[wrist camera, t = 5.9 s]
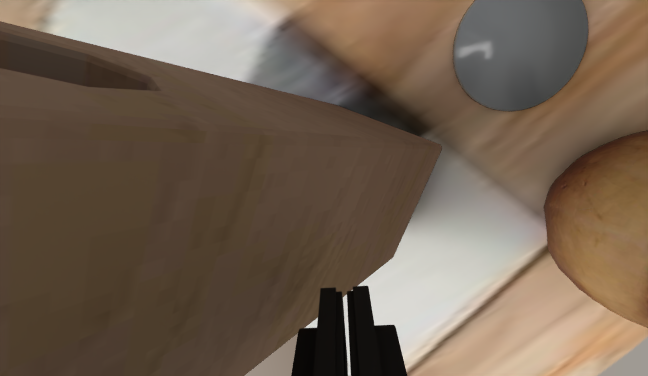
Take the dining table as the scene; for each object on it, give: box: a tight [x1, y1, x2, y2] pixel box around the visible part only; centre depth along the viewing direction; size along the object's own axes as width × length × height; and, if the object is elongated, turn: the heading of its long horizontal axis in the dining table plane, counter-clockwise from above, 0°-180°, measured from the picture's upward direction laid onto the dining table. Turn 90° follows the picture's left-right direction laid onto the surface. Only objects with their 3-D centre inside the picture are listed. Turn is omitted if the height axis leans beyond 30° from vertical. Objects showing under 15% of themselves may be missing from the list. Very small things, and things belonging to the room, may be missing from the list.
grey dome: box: [453, 0, 588, 111], centre depth 25 cm, size 10×10×1 cm
